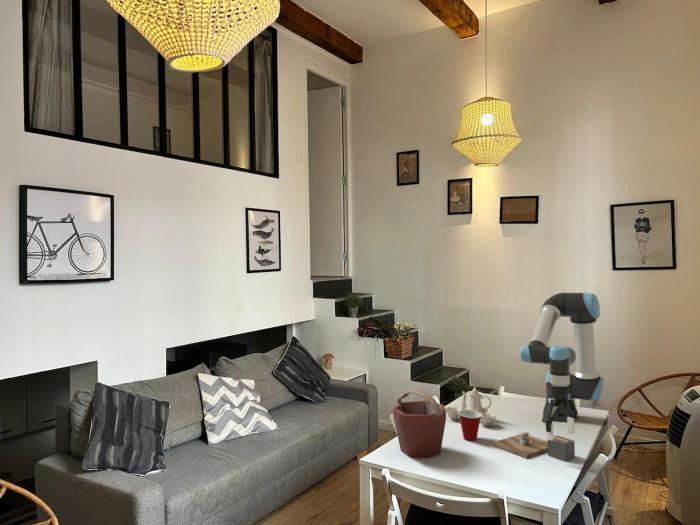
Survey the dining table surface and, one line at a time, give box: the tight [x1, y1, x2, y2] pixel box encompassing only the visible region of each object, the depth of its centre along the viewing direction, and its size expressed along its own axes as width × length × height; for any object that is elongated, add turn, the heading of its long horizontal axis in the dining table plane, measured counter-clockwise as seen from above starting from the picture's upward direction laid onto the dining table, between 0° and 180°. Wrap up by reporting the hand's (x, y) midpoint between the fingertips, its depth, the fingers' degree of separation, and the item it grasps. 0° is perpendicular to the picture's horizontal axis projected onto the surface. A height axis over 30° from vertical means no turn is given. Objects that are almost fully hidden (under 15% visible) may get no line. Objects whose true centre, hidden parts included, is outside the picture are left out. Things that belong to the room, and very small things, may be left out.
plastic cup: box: [458, 410, 482, 442], centre depth 243 cm, size 11×11×12 cm
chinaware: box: [445, 387, 499, 428], centre depth 268 cm, size 28×17×17 cm, turn 56°
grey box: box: [547, 435, 576, 462], centre depth 219 cm, size 8×6×7 cm
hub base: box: [491, 431, 548, 459], centre depth 231 cm, size 20×18×6 cm
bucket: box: [392, 390, 447, 460], centre depth 230 cm, size 24×22×25 cm
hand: (560, 436), depth 219 cm, fingers open, 13 cm apart
